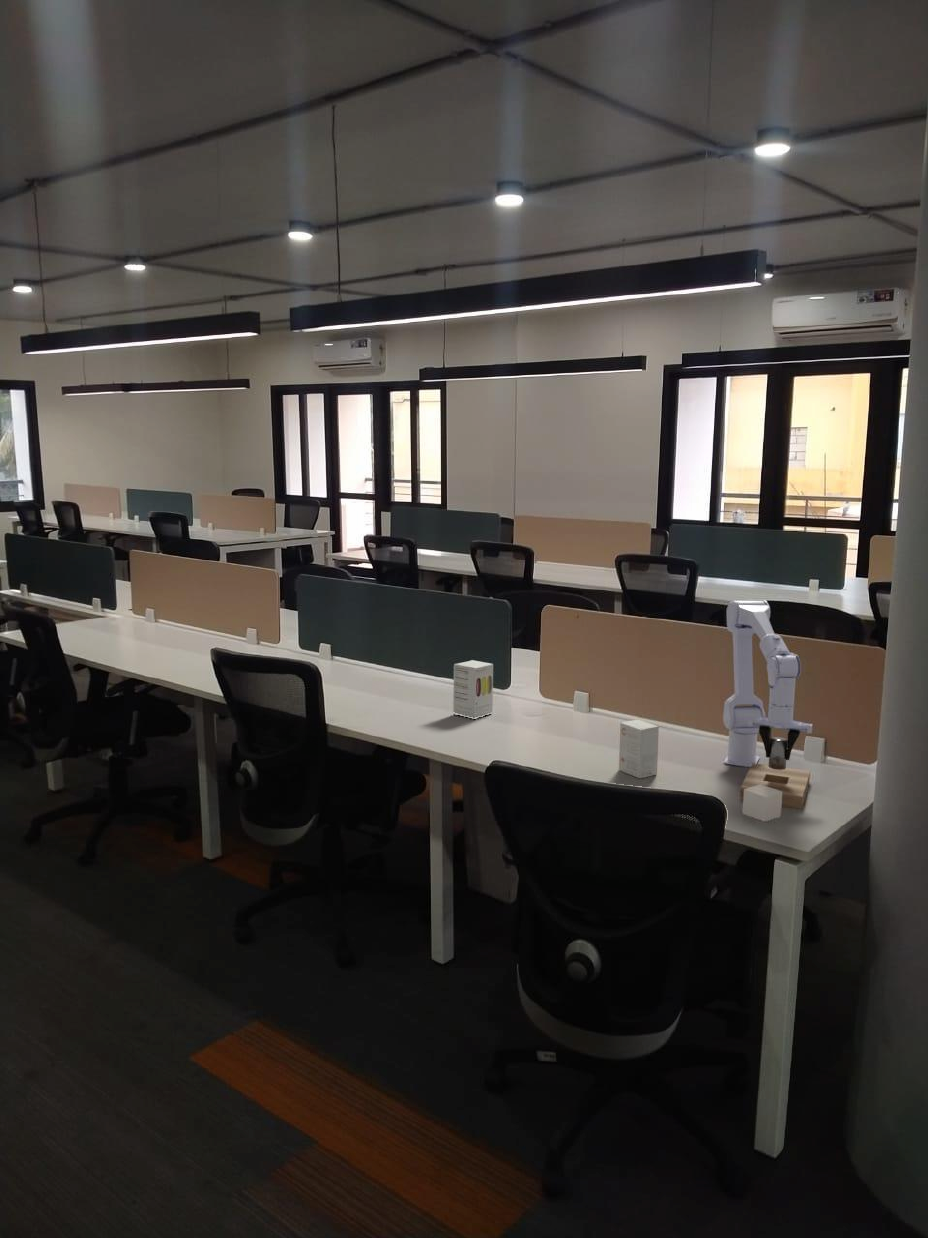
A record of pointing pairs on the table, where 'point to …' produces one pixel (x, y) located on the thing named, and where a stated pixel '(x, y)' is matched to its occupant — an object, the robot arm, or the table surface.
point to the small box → (638, 748)
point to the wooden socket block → (779, 783)
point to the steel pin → (778, 753)
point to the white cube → (762, 802)
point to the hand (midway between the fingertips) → (777, 757)
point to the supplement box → (473, 688)
